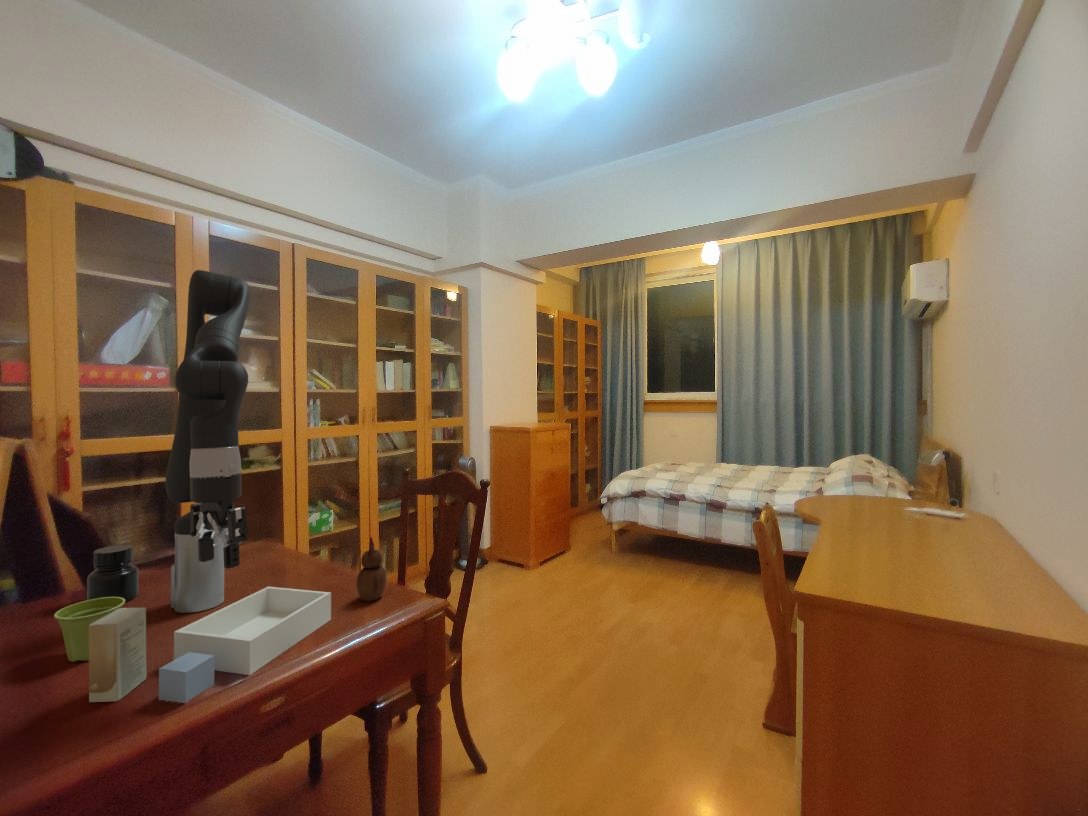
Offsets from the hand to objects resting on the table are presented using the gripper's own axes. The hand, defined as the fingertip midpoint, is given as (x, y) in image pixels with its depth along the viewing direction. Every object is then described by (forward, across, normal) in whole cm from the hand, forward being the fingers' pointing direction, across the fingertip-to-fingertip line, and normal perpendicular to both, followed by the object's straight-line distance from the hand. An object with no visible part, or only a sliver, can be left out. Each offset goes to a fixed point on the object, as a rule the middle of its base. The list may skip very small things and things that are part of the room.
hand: (218, 563), depth 84 cm
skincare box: (+17, -5, -13) cm, 22 cm away
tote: (+18, -3, +8) cm, 20 cm away
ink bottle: (+16, -51, +2) cm, 53 cm away
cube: (+18, +4, -7) cm, 20 cm away
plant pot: (+17, -24, -10) cm, 31 cm away
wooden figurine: (+18, 0, +33) cm, 38 cm away
